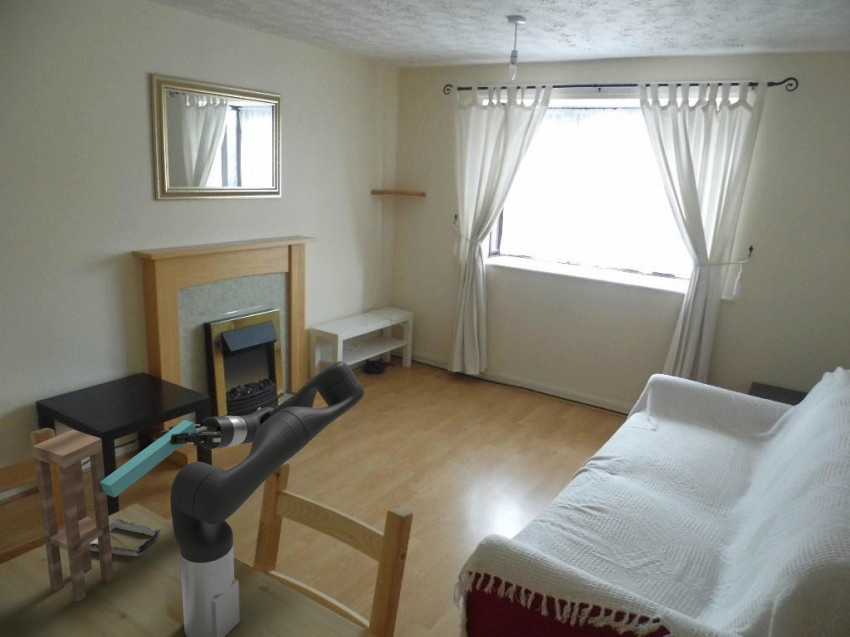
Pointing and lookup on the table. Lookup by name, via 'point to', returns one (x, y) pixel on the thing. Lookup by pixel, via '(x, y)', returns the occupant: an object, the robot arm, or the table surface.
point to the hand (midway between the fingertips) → (166, 437)
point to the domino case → (143, 461)
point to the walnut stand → (73, 508)
